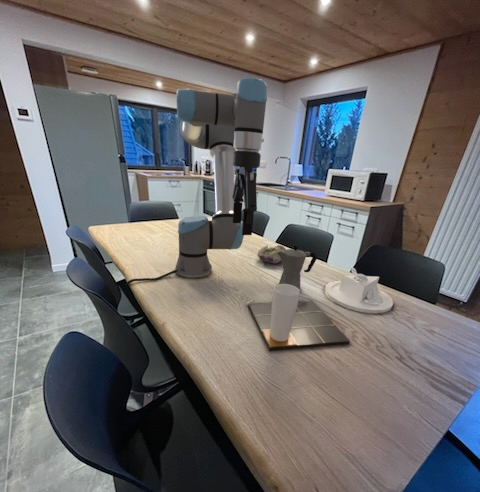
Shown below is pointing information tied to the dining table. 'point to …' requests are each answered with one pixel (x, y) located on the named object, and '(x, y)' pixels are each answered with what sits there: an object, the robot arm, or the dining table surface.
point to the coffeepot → (294, 265)
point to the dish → (359, 293)
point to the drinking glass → (283, 310)
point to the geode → (270, 254)
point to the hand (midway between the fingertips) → (241, 228)
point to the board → (299, 327)
